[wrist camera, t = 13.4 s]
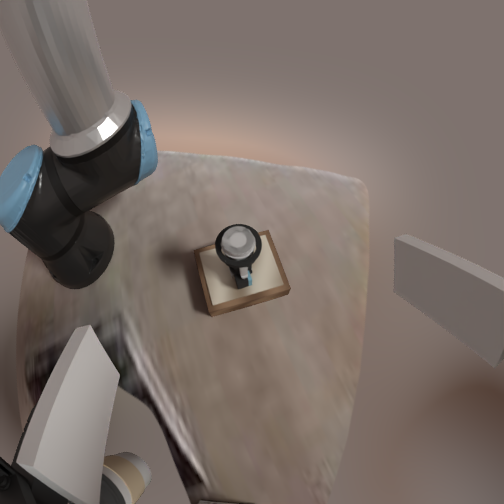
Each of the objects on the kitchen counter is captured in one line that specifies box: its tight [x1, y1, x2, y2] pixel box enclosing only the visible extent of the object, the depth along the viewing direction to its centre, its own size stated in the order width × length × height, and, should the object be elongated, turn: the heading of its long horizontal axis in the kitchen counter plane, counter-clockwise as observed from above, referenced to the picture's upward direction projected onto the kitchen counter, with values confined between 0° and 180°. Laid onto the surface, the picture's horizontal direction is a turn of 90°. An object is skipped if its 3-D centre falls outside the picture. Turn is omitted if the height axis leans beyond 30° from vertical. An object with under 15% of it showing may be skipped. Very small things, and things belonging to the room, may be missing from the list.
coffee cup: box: [68, 452, 152, 504], centre depth 21 cm, size 9×9×15 cm
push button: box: [215, 224, 262, 290], centre depth 35 cm, size 7×5×10 cm
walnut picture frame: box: [194, 230, 291, 317], centre depth 41 cm, size 12×10×3 cm
